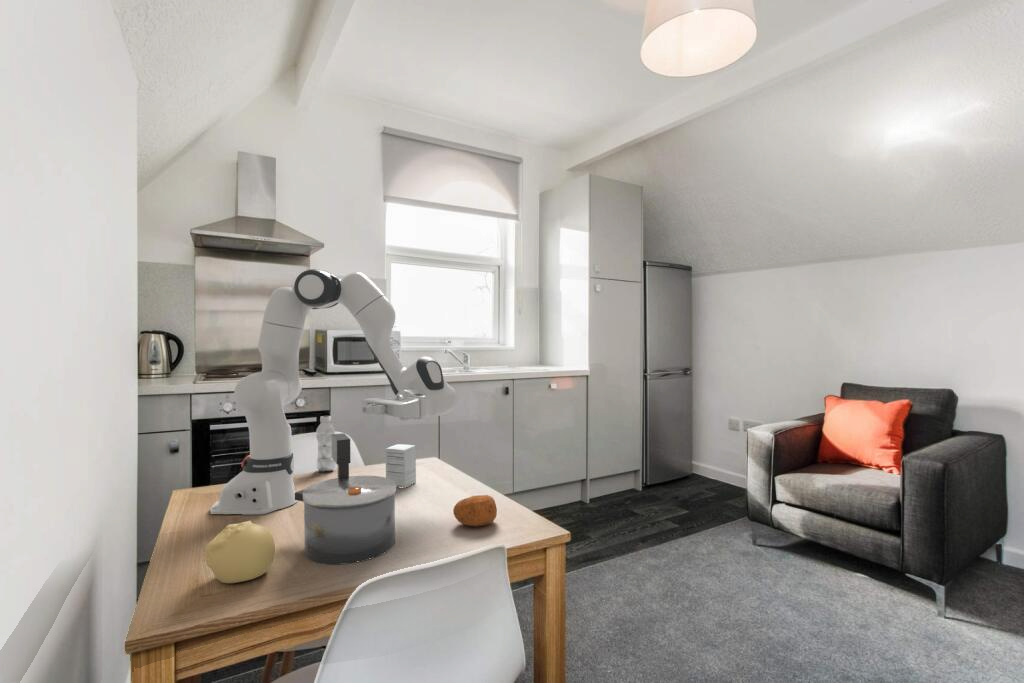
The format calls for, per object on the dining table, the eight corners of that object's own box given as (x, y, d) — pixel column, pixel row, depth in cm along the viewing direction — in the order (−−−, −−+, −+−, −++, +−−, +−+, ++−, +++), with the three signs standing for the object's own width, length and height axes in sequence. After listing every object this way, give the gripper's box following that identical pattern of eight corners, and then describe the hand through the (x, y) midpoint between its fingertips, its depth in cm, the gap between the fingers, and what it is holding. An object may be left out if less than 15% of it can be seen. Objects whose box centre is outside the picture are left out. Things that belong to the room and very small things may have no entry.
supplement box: (397, 480, 169) (397, 443, 169) (416, 482, 166) (416, 445, 166) (385, 486, 162) (384, 448, 162) (404, 489, 159) (404, 449, 159)
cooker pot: (412, 537, 120) (412, 487, 120) (351, 571, 102) (350, 513, 102) (331, 519, 132) (331, 474, 132) (264, 547, 114) (263, 495, 114)
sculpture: (228, 564, 106) (227, 513, 106) (284, 563, 107) (284, 513, 107) (194, 591, 95) (194, 534, 95) (258, 590, 95) (257, 533, 95)
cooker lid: (406, 498, 111) (406, 450, 111) (307, 513, 102) (307, 461, 102) (377, 469, 136) (377, 430, 136) (295, 479, 127) (295, 437, 127)
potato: (497, 531, 124) (496, 501, 123) (451, 532, 123) (451, 502, 123) (496, 518, 133) (496, 490, 133) (454, 519, 132) (454, 490, 132)
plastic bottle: (329, 473, 178) (329, 418, 178) (312, 472, 179) (312, 417, 179) (339, 469, 184) (338, 415, 184) (322, 468, 186) (322, 414, 186)
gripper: (388, 391, 150) (345, 395, 140) (429, 396, 136) (384, 401, 126) (388, 412, 150) (345, 418, 140) (429, 419, 136) (385, 426, 126)
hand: (364, 410), depth 133 cm, fingers closed
